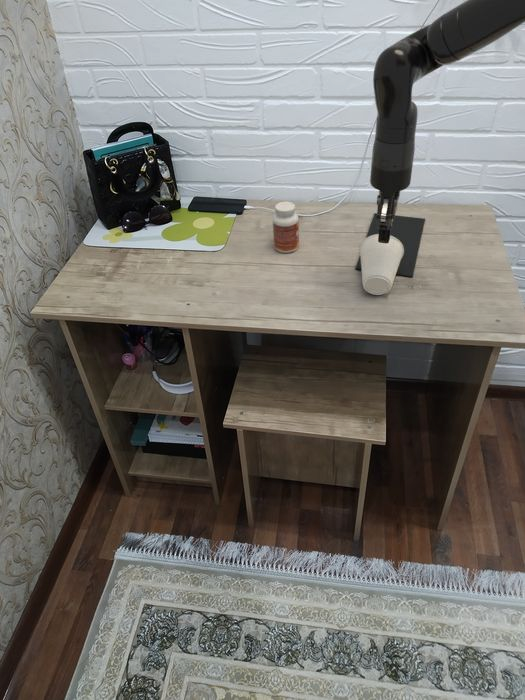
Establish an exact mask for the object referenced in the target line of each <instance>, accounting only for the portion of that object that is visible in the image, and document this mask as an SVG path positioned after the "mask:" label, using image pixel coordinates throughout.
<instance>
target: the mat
mask: <svg viewBox="0 0 525 700" xmlns="http://www.w3.org/2000/svg"><path fill="white" fill-rule="evenodd" d="M376 214H377V212H374V213H373V217H372V219H371V222H370V225H369V227H368V231H367V233H366V237H365V239H366V238H367V237H369V236H372V235H375V234H379V229H378V228H377V219H376V218H377V217H376ZM425 222H426V218H425V217H424V218H423V217H414V216H406V215H405V216H404V215H398V214H397V215H396V214H395V217H394V219H393V222H392V226H391V233H390V236H393V237H395V238H397V239H398V240H399V241H400V242H401V243H402V245H403V247H404V254H403V257H402V258H401V261H400V264H399V266H398V269H397V273H396V276H398V277H407V278H413V276H414V272H415V268H416V265H417V264H416V263H417V258H418V254H419V250H420V244H421V240H422V237H423V231H424V227H425ZM354 269H355V271H360V272H362V270H361V257H360V256H359V257H358V260H357V263H356V265H355V267H354Z"/></svg>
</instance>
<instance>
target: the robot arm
mask: <svg viewBox="0 0 525 700" xmlns="http://www.w3.org/2000/svg"><path fill="white" fill-rule="evenodd" d="M524 23H525V0H465V1H463V2H462V3H460V4H459V5H456V6H455V7H454V8H451V9H450V10H448V11H447V12H445V13H443V14H442V15H440V16H439V17H437V18H436V19H435V20H434V21H432V22H431V23H430V24H428V25H426V26H424V27H421V28H420V29H418V30H416V31H414V32H413V33H410V34H409V35H407V36H404V37H403V38H402V39H400V40H398V41H396V42H395V43H393V44H391V45H389V46H388V47H386V48H385V49H383V50H382V51H381V53H380V54H379V55H378V57H377V59H376V61H375V65H374V68H373V77H372V85H373V94H374V101H375V108H376V112H377V113H376V119H375V120H376V121H375V133H374V141H373V145H372V154H371V164H370V178H369V183H370V184H371V186H372V187H373V188H374V189H375V190H377V191H378V194H377V197H376V206H377V207H376V208H377V209H376V213H377V214H376V217H377V218H376V219H377V228H378V229H379V236H378V242H379V243H386V244H387V243H389V240H390V233H391V226H392V222H393V219H394V217H395V215H396V213H397V210H398V203H399V200H400V196H401V192H403V191H404V190H406V189H408V188H409V187H410V185H411V181H412V174H413V167H414V166H413V165H414V157H415V150H416V145H415V143H416V142H415V141H416V130H417V123H418V117H419V115H418V114H419V113H418V106H417V104H416V103H415V102H414V101H412V100H413V99H412V98H413V97H412V96H413V95H412V94H413V86H414V84H415V83H417V82H418V81H419V80H421V79H423V78H424V77H426V76H427V75H430V74H431V73H433V72H435V71H436V70H438V69H440V68H442V67H443V66H447V65H452V64H454V63H456V62H459V61H461V60H462V59H465V58H467V57H468V56H470V55H472V54H474V53H476V52H478V51H480V50H482V49H483V48H486V47H488V46H489V45H491V44H492V43H494V42H496V41H498V40H499V39H501V38H502V37H504V36H506V35H508V34H509V33H510V32H512V31H513V30H515V29H516V28H518V27H519V26H521V25H522V24H524Z"/></svg>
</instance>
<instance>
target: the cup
mask: <svg viewBox="0 0 525 700" xmlns="http://www.w3.org/2000/svg"><path fill="white" fill-rule="evenodd" d="M378 236H379V234H375V235H372V236H369V237H367V238H366V237H365V238H364V239H363V240H362V241H361V242H360V244H359V248H358V253H359V257H361V270H362V271H361V270H360V271H361V283H362V288H363V289H364V290H365V292H367V293H368V294H371V295H374V296H381V295H382V296H383V295H385V294H387V293H389V292H390V291H391V290H392V288H393V285H394V281H395V278H396V276H397V275H396V273H397V269H398V266H399V264H400V261H401V258H402V257H403V254H404V247H403V245H402V243H401V242H400V241H399V240H398V239H397V238H395V237H393V236H390V240H389V243H387V244H386V243H379V242H378Z"/></svg>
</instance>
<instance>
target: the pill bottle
mask: <svg viewBox="0 0 525 700" xmlns="http://www.w3.org/2000/svg"><path fill="white" fill-rule="evenodd" d="M274 210H275V211H274V213H273V215H272V235H273V236H272V237H273V247H274V248H273V249H274V250H276V251H277V252H279V253H284V254H290V253H292V252H295V251H296V250H298V249H299V246H300V234H299V233H300V231H299V229H300V228H299V227H300V224H299V223H300V222H299V220H300V219H299V215H298V213H297V212H296V205H295V203H293V202H291V201H281V202H278V203H276V204H275V206H274Z"/></svg>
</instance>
